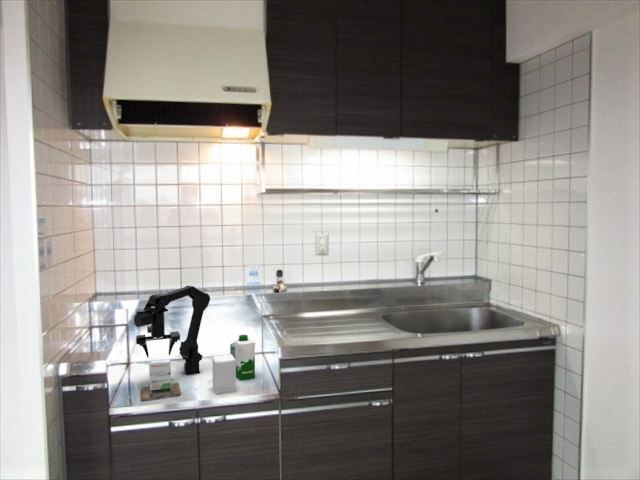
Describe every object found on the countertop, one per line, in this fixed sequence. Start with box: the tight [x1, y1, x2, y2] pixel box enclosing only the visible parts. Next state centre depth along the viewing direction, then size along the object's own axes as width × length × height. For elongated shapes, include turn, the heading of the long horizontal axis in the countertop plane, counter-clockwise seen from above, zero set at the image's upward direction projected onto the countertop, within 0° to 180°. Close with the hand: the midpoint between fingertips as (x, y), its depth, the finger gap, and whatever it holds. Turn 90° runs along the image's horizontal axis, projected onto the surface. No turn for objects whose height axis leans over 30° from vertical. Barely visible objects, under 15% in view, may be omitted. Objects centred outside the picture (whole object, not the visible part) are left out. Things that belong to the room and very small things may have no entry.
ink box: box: [148, 359, 172, 390], centre depth 204 cm, size 9×5×12 cm, turn 102°
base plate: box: [140, 382, 182, 402], centre depth 204 cm, size 16×14×2 cm
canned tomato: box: [229, 342, 235, 359], centre depth 240 cm, size 8×8×11 cm
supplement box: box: [212, 354, 237, 396], centre depth 205 cm, size 9×9×15 cm
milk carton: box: [234, 334, 256, 381], centre depth 221 cm, size 9×9×20 cm
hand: (158, 356), depth 214 cm, fingers open, 9 cm apart
